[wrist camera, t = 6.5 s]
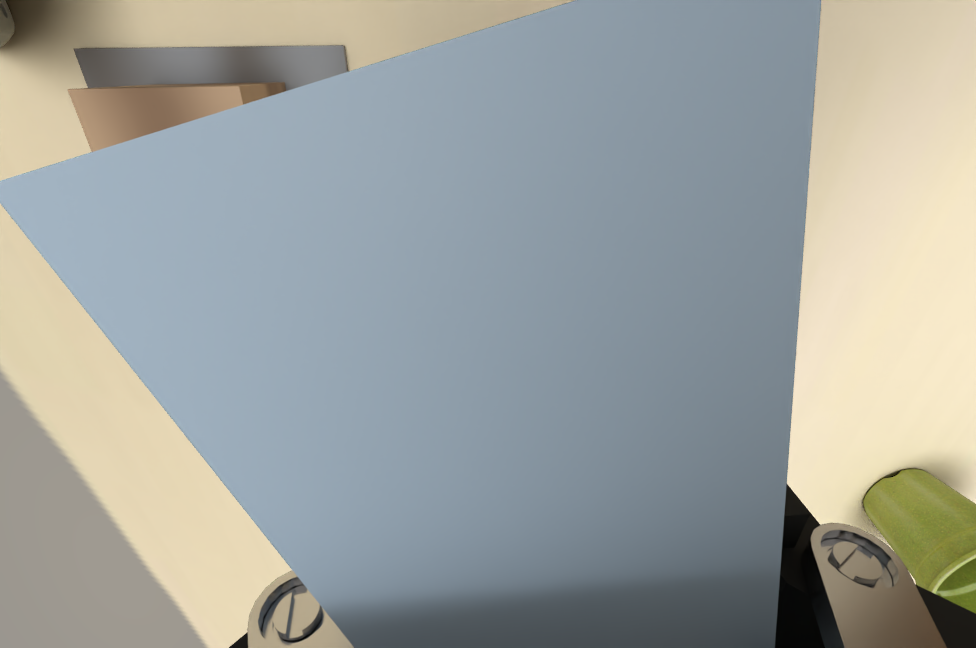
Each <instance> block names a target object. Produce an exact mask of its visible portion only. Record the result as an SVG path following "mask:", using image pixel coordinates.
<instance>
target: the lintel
mask: <svg viewBox="0 0 976 648" xmlns="http://www.w3.org/2000/svg"><path fill="white" fill-rule="evenodd" d="M820 11H821V0H575V1H572V2H569V3H566V4H562V5H559V6H556V7H553V8H550V9H547V10H543V11H540V12H537V13H534V14H531V15H527V16H524V17H521V18H518V19H515V20H511V21H508V22H505V23H502V24H499V25H496V26H492V27H489V28H486V29H483V30H480V31H476V32H473V33H470V34H467V35H464V36H461V37H457V38H454V39H451V40H448V41H445V42H441V43H438V44H435V45H432V46H429V47H425V48H422V49H419V50H416V51H413V52H410V53H406V54H403V55H400V56H397V57H394V58H390V59H387V60H384V61H381V62H378V63H374V64H371V65H368V66H365V67H362V68H359V69H355V70H352V71H349V72H346V73H343V74H339V75H336V76H333V77H330V78H327V79H323V80H320V81H317V82H314V83H311V84H308V85H304V86H301V87H298V88H295V89H292V90H288V91H285V92H282V93H279V94H276V95H272V96H269V97H266V98H263V99H260V100H257V101H253V102H250V103H247V104H244V105H241V106H237V107H234V108H231V109H228V110H225V111H221V112H218V113H215V114H212V115H209V116H206V117H202V118H199V119H196V120H193V121H190V122H186V123H183V124H180V125H177V126H174V127H170V128H167V129H164V130H161V131H158V132H155V133H151V134H148V135H145V136H142V137H139V138H135V139H132V140H129V141H126V142H123V143H119V144H116V145H113V146H110V147H107V148H104V149H100V150H97V151H94V152H91V153H88V154H84V155H81V156H78V157H75V158H72V159H68V160H65V161H62V162H59V163H56V164H53V165H49V166H46V167H43V168H40V169H37V170H33V171H30V172H27V173H24V174H21V175H18V176H14V177H11V178H8V179H5V180H2V181H0V204H1V205H2V206H3V207H4V209H5V210H6V211H7V212H8V214H9V215H10V216H11V217H12V219H13V220H14V221H15V222H16V224H17V225H18V226H19V227H20V229H21V230H22V231H23V232H24V234H25V235H26V236H27V237H28V239H29V240H30V241H31V242H32V244H33V245H34V246H35V247H36V249H37V250H38V251H39V252H40V254H41V255H42V256H43V258H44V259H45V260H46V261H47V263H48V264H49V265H50V266H51V268H52V269H53V270H54V271H55V273H56V274H57V275H58V276H59V278H60V279H61V280H62V281H63V283H64V284H65V285H66V286H67V288H68V289H69V290H70V291H71V293H72V294H73V295H74V296H75V298H76V299H77V300H78V301H79V303H80V304H81V305H82V306H83V308H84V309H85V310H86V311H87V313H88V314H89V315H90V317H91V318H92V319H93V320H94V322H95V323H96V324H97V325H98V327H99V328H100V329H101V330H102V332H103V333H104V334H105V335H106V337H107V338H108V339H109V340H110V342H111V343H112V344H113V345H114V347H115V348H116V349H117V350H118V352H119V353H120V354H121V355H122V357H123V358H124V359H125V360H126V362H127V363H128V364H129V365H130V367H131V368H132V369H133V371H134V372H135V373H136V374H137V376H138V377H139V378H140V379H141V381H142V382H143V383H144V384H145V386H146V387H147V388H148V389H149V391H150V392H151V393H152V394H153V396H154V397H155V398H156V399H157V401H158V402H159V403H160V404H161V406H162V407H163V408H164V409H165V411H166V412H167V413H168V414H169V416H170V417H171V418H172V419H173V421H174V422H175V423H176V424H177V426H178V427H179V428H180V430H181V431H182V432H183V433H184V435H185V436H186V437H187V438H188V440H189V441H190V442H191V443H192V445H193V446H194V447H195V448H196V450H197V451H198V452H199V453H200V455H201V456H202V457H203V458H204V460H205V461H206V462H207V463H208V465H209V466H210V467H211V468H212V470H213V471H214V472H215V473H216V475H217V476H218V477H219V478H220V480H221V481H222V482H223V484H224V485H225V486H226V487H227V489H228V490H229V491H230V492H231V494H232V495H233V496H234V497H235V499H236V500H237V501H238V502H239V504H240V505H241V506H242V507H243V509H244V510H245V511H246V512H247V514H248V515H249V516H250V517H251V519H252V520H253V521H254V522H255V524H256V525H257V526H258V527H259V529H260V530H261V531H262V532H263V534H264V535H265V536H266V537H267V539H268V540H269V541H270V543H271V544H272V545H273V546H274V548H275V549H276V550H277V551H278V553H279V554H280V555H281V556H282V558H283V559H284V560H285V561H286V563H287V564H288V565H289V566H290V568H291V569H292V570H293V571H294V573H295V574H296V575H297V576H298V578H299V579H300V580H301V581H302V583H303V584H304V585H305V586H306V588H307V589H308V590H309V591H310V593H311V594H312V595H313V597H314V598H315V599H316V600H317V602H318V603H319V604H320V605H321V607H322V608H323V609H324V610H325V612H326V613H327V614H328V615H329V617H330V618H331V619H332V620H333V622H334V623H335V624H336V625H337V627H338V628H339V629H340V630H341V632H342V633H343V634H344V635H345V637H346V638H347V639H348V640H349V642H350V643H351V644H352V645H353V647H354V648H775V637H776V623H777V609H778V596H779V582H780V568H781V554H782V540H783V526H784V512H785V498H786V484H787V470H788V456H789V442H790V428H791V414H792V401H793V387H794V373H795V359H796V345H797V331H798V317H799V303H800V289H801V275H802V261H803V247H804V233H805V219H806V206H807V192H808V178H809V164H810V150H811V136H812V122H813V108H814V94H815V80H816V66H817V52H818V38H819V25H820Z"/></svg>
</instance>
